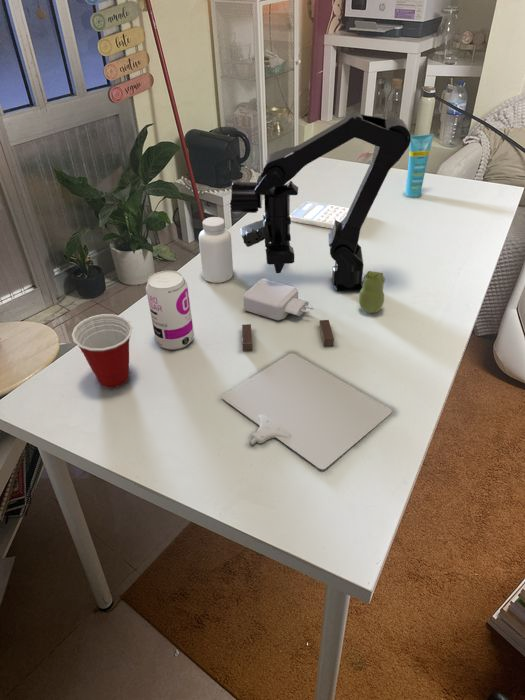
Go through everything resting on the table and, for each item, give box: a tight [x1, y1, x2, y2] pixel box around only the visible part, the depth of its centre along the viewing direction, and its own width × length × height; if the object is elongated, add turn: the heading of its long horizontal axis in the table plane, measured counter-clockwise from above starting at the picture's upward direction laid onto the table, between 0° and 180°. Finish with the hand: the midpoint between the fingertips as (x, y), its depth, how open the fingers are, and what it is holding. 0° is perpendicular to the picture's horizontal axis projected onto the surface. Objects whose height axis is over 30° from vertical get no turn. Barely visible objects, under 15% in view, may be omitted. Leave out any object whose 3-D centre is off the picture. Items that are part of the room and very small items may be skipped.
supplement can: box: [145, 270, 195, 351], centre depth 110 cm, size 8×8×15 cm
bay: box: [241, 319, 335, 352], centre depth 113 cm, size 19×7×2 cm, turn 93°
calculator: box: [290, 201, 350, 230], centre depth 162 cm, size 13×20×2 cm, turn 62°
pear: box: [358, 270, 386, 314], centre depth 118 cm, size 6×5×10 cm
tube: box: [404, 133, 435, 198], centre depth 169 cm, size 7×5×19 cm, turn 104°
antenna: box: [221, 352, 393, 470], centre depth 96 cm, size 25×24×1 cm
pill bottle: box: [198, 216, 234, 284], centre depth 131 cm, size 8×8×15 cm
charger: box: [243, 278, 314, 321], centre depth 121 cm, size 5×9×15 cm
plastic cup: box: [71, 313, 134, 389], centre depth 101 cm, size 11×11×12 cm
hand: (278, 272), depth 130 cm, fingers closed
